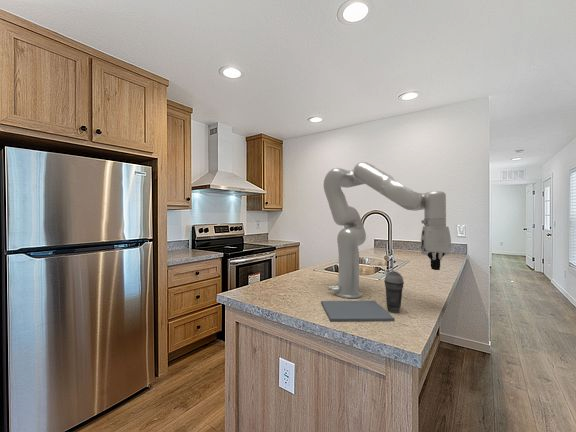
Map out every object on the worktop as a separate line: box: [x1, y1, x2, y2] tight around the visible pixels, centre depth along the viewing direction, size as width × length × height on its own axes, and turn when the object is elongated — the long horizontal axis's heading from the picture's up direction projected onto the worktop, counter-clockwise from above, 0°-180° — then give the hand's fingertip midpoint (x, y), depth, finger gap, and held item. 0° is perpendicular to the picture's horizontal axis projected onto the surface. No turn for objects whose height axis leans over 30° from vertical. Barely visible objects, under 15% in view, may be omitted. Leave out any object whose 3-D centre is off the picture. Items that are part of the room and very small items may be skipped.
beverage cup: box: [383, 259, 404, 314], centre depth 108 cm, size 7×7×20 cm
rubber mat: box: [320, 300, 396, 323], centre depth 108 cm, size 23×20×1 cm
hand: (435, 269), depth 108 cm, fingers closed
